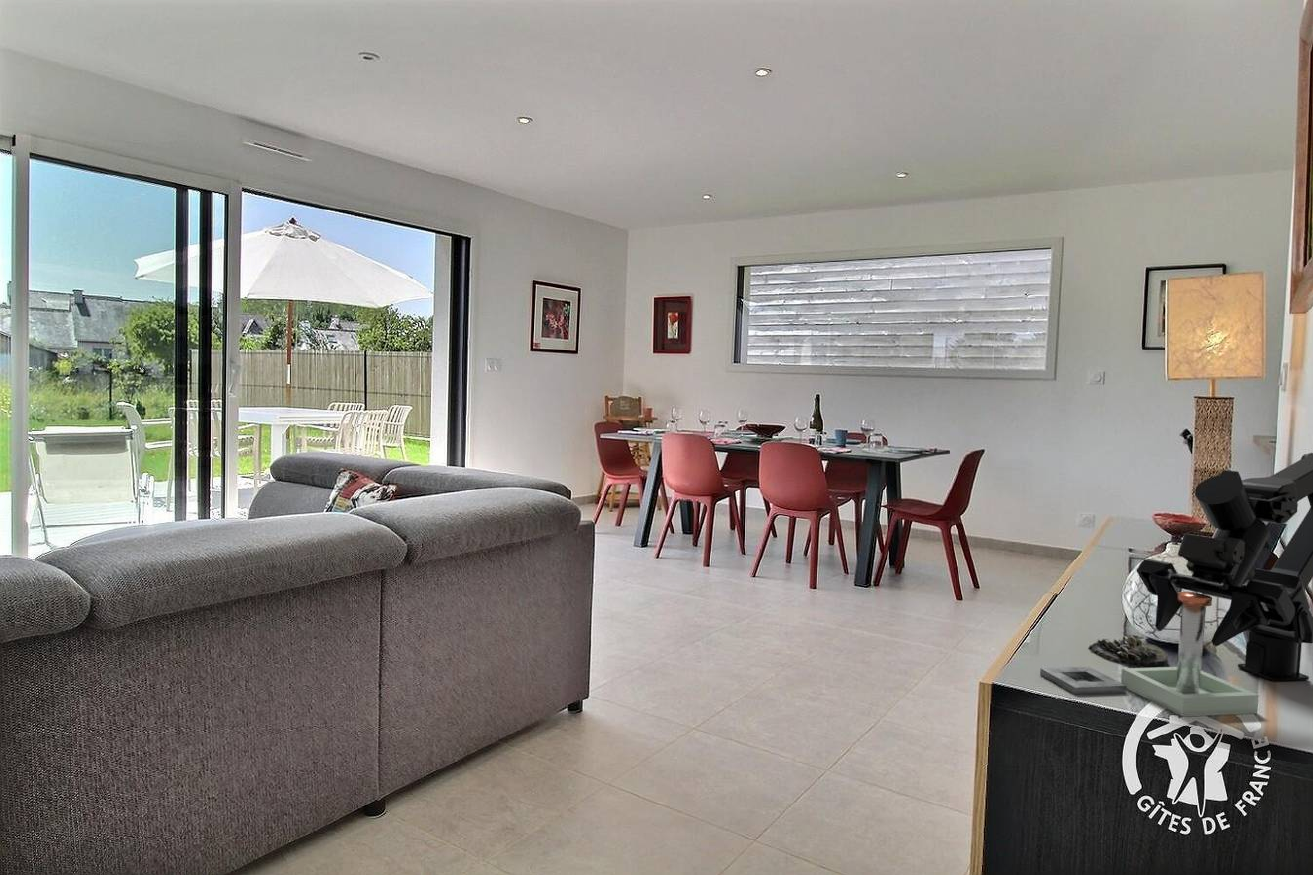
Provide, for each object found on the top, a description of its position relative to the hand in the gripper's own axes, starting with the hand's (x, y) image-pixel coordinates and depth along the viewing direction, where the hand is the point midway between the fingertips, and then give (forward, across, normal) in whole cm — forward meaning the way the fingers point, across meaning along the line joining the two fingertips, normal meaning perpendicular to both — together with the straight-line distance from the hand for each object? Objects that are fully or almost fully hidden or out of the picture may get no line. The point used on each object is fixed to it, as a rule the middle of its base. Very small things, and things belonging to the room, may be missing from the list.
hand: (1185, 636), depth 115 cm
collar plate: (+11, -10, +2) cm, 15 cm away
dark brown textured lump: (-2, -15, +16) cm, 22 cm away
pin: (+5, 0, +7) cm, 9 cm away
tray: (+5, 0, +7) cm, 9 cm away
